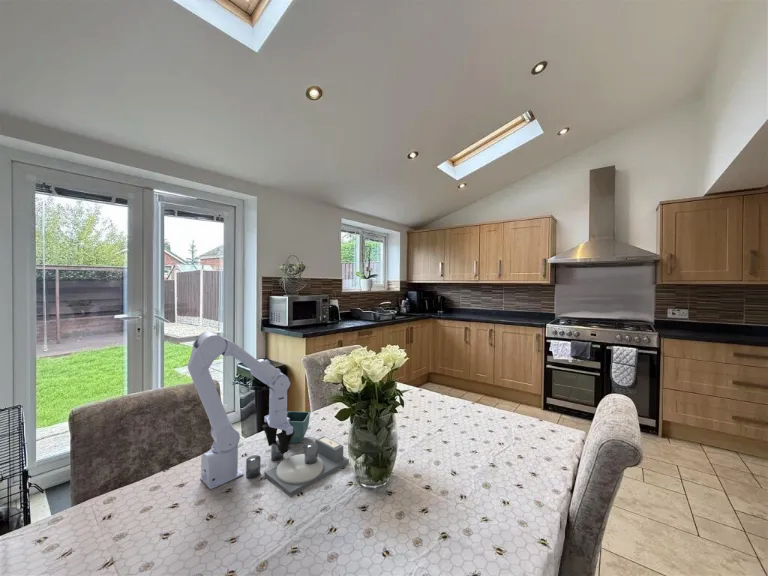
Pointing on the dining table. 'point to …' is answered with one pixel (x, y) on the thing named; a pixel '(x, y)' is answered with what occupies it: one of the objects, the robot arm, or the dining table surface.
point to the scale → (307, 467)
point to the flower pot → (298, 424)
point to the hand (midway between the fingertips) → (277, 448)
